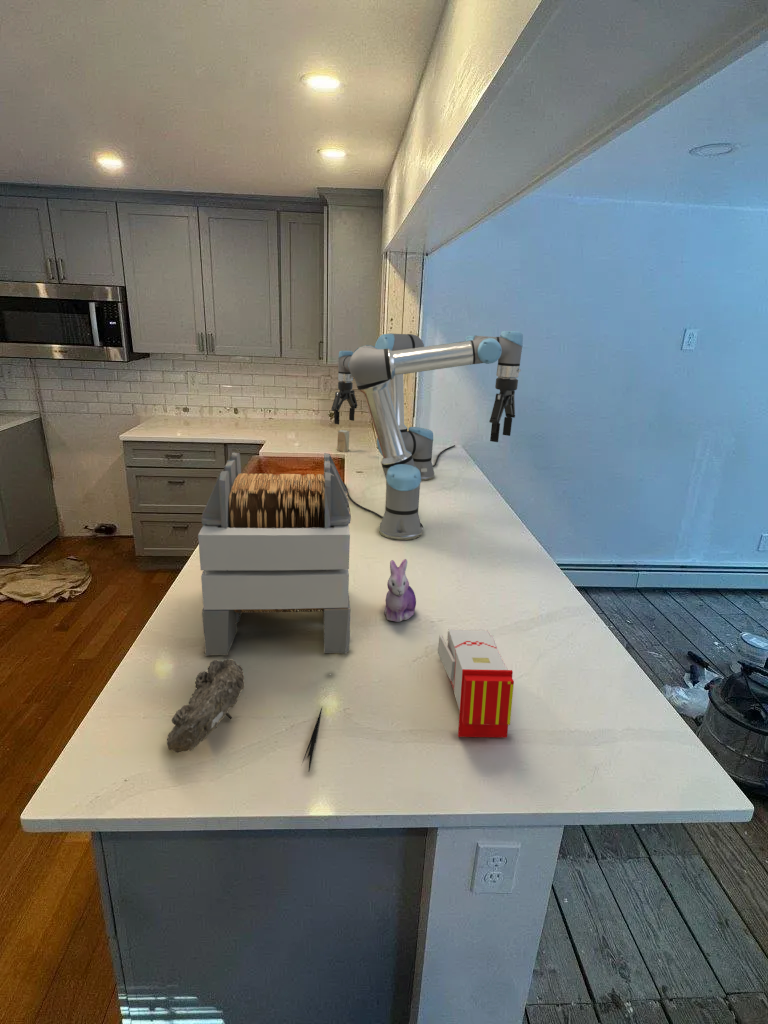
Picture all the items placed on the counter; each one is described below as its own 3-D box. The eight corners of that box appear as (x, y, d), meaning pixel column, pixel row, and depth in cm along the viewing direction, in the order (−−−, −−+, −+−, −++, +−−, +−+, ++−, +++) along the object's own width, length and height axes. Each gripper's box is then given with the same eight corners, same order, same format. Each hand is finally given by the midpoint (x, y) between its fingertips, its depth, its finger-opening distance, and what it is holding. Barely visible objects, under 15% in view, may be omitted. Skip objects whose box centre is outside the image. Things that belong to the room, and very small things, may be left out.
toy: (488, 613, 130) (523, 677, 101) (484, 667, 133) (517, 744, 104) (435, 612, 130) (455, 676, 101) (432, 666, 133) (451, 743, 103)
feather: (331, 679, 122) (336, 673, 122) (307, 777, 96) (313, 769, 95) (324, 675, 122) (329, 669, 121) (298, 772, 95) (304, 764, 95)
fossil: (192, 660, 117) (244, 628, 112) (224, 691, 120) (276, 661, 115) (142, 746, 98) (202, 712, 93) (182, 779, 101) (242, 748, 96)
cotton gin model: (226, 586, 157) (217, 442, 143) (344, 585, 161) (346, 445, 147) (202, 658, 125) (189, 482, 112) (350, 654, 129) (354, 483, 115)
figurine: (392, 627, 141) (395, 572, 136) (374, 608, 149) (376, 556, 144) (425, 619, 145) (429, 566, 140) (405, 601, 154) (408, 550, 149)
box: (336, 450, 310) (337, 430, 307) (341, 449, 314) (341, 429, 310) (344, 452, 308) (345, 432, 304) (349, 450, 312) (349, 430, 308)
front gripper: (506, 382, 184) (499, 446, 191) (528, 376, 205) (520, 434, 212) (484, 379, 188) (478, 442, 195) (508, 374, 208) (501, 431, 215)
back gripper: (336, 384, 282) (336, 426, 289) (364, 380, 302) (363, 419, 309) (324, 382, 285) (324, 424, 293) (353, 378, 305) (352, 417, 313)
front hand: (500, 438), depth 203 cm, fingers open, 13 cm apart
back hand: (344, 422), depth 301 cm, fingers open, 13 cm apart
